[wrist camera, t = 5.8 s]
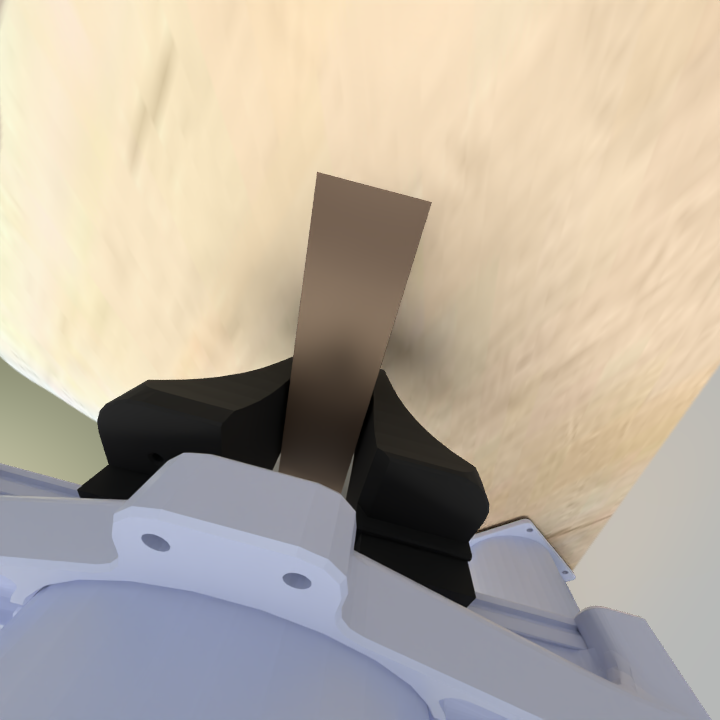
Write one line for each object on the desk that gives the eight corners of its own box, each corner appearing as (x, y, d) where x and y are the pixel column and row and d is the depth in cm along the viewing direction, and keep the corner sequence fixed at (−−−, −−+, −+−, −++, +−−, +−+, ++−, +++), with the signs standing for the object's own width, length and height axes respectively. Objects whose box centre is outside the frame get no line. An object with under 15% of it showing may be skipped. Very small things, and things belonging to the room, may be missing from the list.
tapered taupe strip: (343, 456, 17) (320, 559, 11) (308, 447, 17) (268, 545, 11) (411, 221, 10) (431, 201, 5) (356, 206, 10) (317, 172, 5)
